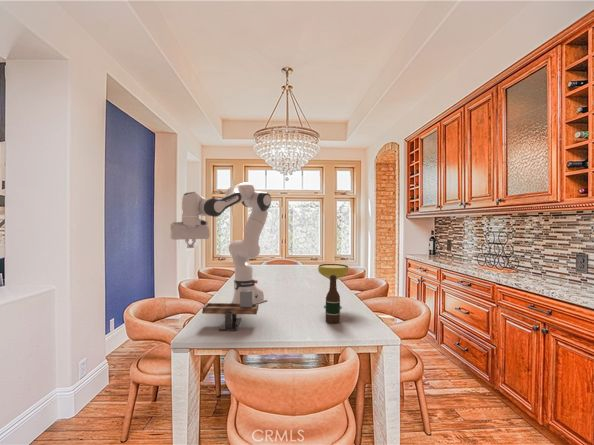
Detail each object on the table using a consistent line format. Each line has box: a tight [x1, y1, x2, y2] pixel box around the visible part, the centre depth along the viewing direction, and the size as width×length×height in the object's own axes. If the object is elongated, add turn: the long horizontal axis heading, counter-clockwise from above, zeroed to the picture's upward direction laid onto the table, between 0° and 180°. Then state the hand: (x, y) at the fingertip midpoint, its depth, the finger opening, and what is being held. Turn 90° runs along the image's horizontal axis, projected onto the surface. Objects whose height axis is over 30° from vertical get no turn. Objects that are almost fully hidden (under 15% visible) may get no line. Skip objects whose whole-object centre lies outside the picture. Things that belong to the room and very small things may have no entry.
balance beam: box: [201, 302, 259, 315], centre depth 166 cm, size 26×10×3 cm, turn 91°
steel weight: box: [240, 289, 254, 308], centre depth 165 cm, size 6×5×9 cm
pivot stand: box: [218, 312, 243, 332], centre depth 166 cm, size 8×17×8 cm, turn 1°
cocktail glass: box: [317, 263, 349, 310], centre depth 201 cm, size 18×18×25 cm
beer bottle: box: [325, 275, 341, 324], centre depth 173 cm, size 8×8×24 cm
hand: (190, 247), depth 179 cm, fingers closed
